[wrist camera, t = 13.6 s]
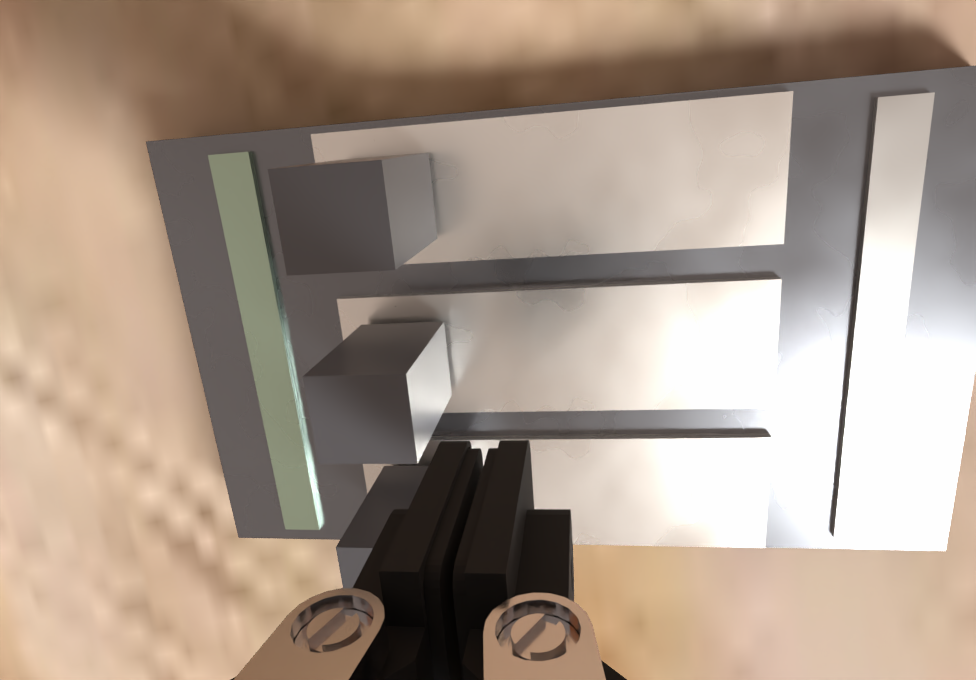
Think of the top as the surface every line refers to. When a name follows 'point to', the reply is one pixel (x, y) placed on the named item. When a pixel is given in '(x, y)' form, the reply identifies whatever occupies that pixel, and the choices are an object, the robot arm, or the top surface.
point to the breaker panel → (627, 308)
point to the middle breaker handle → (379, 394)
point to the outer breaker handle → (354, 213)
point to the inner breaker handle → (376, 517)
